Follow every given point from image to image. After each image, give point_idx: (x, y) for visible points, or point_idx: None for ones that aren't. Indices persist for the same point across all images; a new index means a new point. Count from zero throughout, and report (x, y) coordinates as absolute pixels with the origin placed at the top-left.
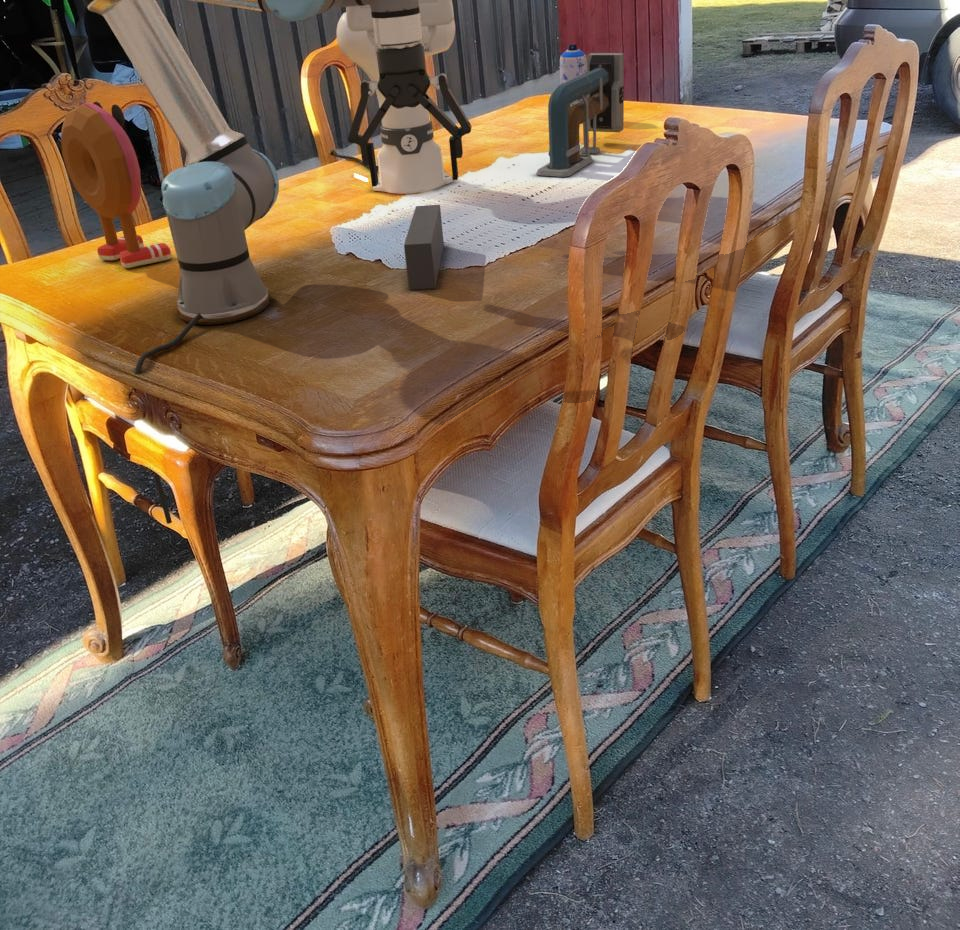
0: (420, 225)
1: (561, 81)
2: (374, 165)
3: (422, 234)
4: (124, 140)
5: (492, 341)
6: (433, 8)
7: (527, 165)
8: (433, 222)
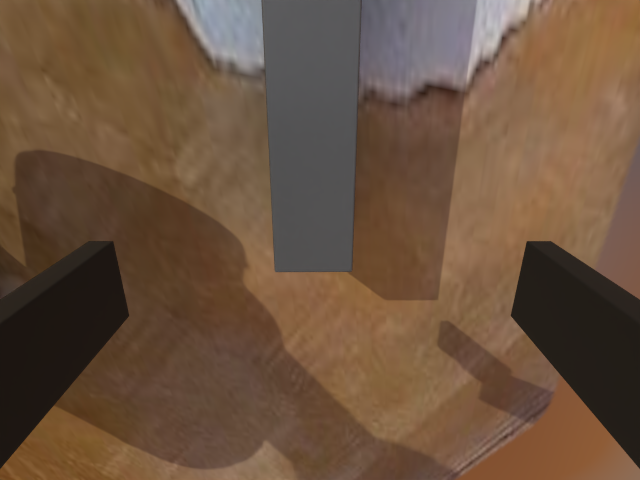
0: (305, 82)
1: None
2: (63, 360)
3: (321, 189)
4: None
5: (438, 446)
6: None
7: None
8: (351, 52)
